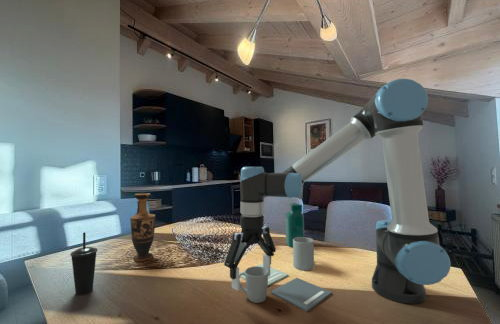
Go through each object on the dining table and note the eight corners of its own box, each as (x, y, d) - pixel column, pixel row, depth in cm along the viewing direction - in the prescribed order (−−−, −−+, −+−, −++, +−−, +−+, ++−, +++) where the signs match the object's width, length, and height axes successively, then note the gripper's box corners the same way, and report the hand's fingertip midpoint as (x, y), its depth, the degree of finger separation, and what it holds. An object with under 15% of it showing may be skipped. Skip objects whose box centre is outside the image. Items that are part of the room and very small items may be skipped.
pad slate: (331, 293, 78) (331, 291, 78) (306, 311, 68) (306, 309, 68) (296, 279, 88) (296, 277, 88) (270, 293, 79) (270, 290, 79)
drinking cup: (81, 285, 86) (81, 229, 86) (102, 285, 85) (102, 229, 86) (64, 297, 78) (64, 235, 78) (87, 297, 78) (87, 235, 78)
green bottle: (285, 242, 131) (284, 202, 132) (300, 241, 132) (299, 201, 132) (290, 248, 121) (289, 205, 122) (306, 247, 122) (305, 204, 123)
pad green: (288, 275, 91) (288, 273, 91) (262, 288, 82) (262, 286, 82) (262, 265, 101) (262, 263, 101) (236, 275, 92) (236, 273, 92)
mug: (314, 271, 94) (313, 243, 95) (292, 269, 97) (291, 242, 97) (314, 260, 106) (313, 235, 106) (294, 258, 108) (294, 234, 108)
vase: (158, 259, 110) (157, 193, 110) (132, 265, 104) (132, 195, 104) (152, 252, 119) (152, 192, 119) (128, 257, 112) (128, 193, 113)
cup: (267, 306, 71) (266, 277, 71) (234, 302, 73) (234, 274, 74) (270, 293, 79) (270, 267, 79) (241, 290, 81) (240, 264, 81)
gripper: (270, 208, 88) (270, 266, 87) (212, 218, 71) (212, 290, 71) (286, 211, 82) (286, 273, 82) (227, 222, 66) (227, 301, 65)
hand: (251, 281), depth 76 cm, fingers open, 13 cm apart
